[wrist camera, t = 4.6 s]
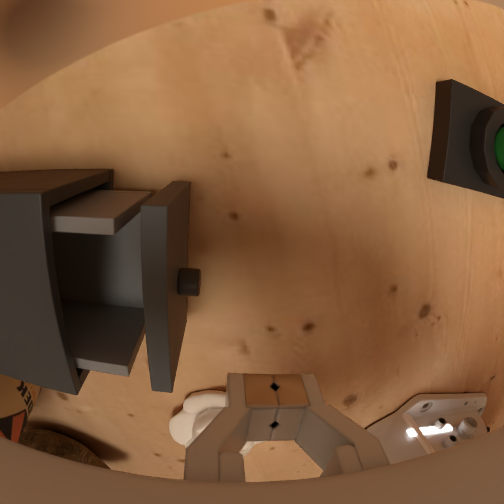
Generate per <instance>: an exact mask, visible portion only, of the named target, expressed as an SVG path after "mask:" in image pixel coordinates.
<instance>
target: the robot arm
mask: <svg viewBox="0 0 504 504" xmlns="http://www.w3.org/2000/svg"><path fill="white" fill-rule="evenodd" d="M486 403H487V396H486V394H485V393H461V394H419V395H416V396H415V397H413V398H412V399H410V400H409V401H408V402H407V403H406V404H404V405H403V406H402V407H401V408H400V409H399V410H398V411H396V412H395V413H393V414H391V415H390V416H388V417H386V418H384V419H382V420H380V421H379V422H377V423H375V424H373V425H372V426H370V427H369V428H367V429H366V430H365V429H364V428H362V427H361V426H359V425H358V424H356V423H355V422H354V421H352V420H351V419H349V418H348V417H346V416H345V415H344V414H342V413H341V412H339V411H338V410H337V409H335V408H334V407H333V406H331V405H326V403H325V400H324V398H323V395H322V392H321V389H320V387H319V384H318V381H317V378H316V376H315V374H314V373H305V374H246V373H243V374H240V373H228V374H227V383H226V396H225V407H224V408H223V409H222V410H221V411H220V412H219V413H218V414H217V416H216V417H215V418H214V419H213V420H212V421H211V422H210V423H209V424H208V426H207V427H206V428H205V429H204V430H203V431H202V432H201V433H200V434H199V435H198V436H197V437H196V438H195V440H194V441H193V442H192V443H191V444H190V445H189V446H188V447H187V448H186V456H185V470H184V480H179V479H169V478H160V477H152V476H145V475H138V474H132V473H126V472H120V471H115V470H110V469H105V468H100V467H96V466H92V465H87V464H83V463H79V462H75V461H72V460H68V459H64V458H61V457H58V456H54V455H51V454H48V453H45V452H42V451H39V450H36V449H33V448H30V447H27V446H24V445H21V444H19V443H16V442H14V441H11V440H8V439H6V438H4V437H1V436H0V504H504V426H501V427H499V428H497V429H495V430H492V431H490V428H489V427H486V425H485V423H484V422H483V420H482V418H481V415H482V413H483V411H484V409H485V406H486ZM489 431H490V432H489ZM281 440H295V442H296V443H297V444H298V445H299V446H300V447H301V448H302V449H303V450H304V451H305V452H306V453H307V454H308V455H309V456H310V457H311V458H312V459H313V460H314V461H315V462H316V463H317V464H318V465H319V466H320V467H321V468H322V469H323V472H322V474H321V476H320V477H318V478H309V479H299V480H286V481H269V482H245V472H244V461H243V455H242V454H240V451H241V450H242V448H243V447H244V445H245V444H246V442H248V441H281Z"/></svg>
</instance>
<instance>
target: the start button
mask: <svg viewBox="0 0 504 504" xmlns="http://www.w3.org/2000/svg"><path fill="white" fill-rule="evenodd" d="M494 151H495V156H496V160H497V162H498V164H499V166H500V167H501V168H502V169H503V170H504V127H502V128H500V129H499V131H498V132H497V134H496V137H495V144H494Z"/></svg>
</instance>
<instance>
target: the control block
mask: <svg viewBox="0 0 504 504" xmlns="http://www.w3.org/2000/svg"><path fill="white" fill-rule="evenodd" d="M502 127H504V104H502V103H500V102H498V101H496V100H494V99H493V98H491V97H489V96H487V95H485V94H483V93H481V92H479V91H477V90H475V89H473V88H470V87H468V86H466V85H464V84H462V83H460V82H457V81H455V80H453V79H450V80H445V81H439V82H436V101H435V115H434V127H433V137H432V146H431V154H430V162H429V169H428V176H427V178H430V179H433V180H437V181H440V182H444V183H448V184H452V185H456V186H460V187H464V188H468V189H472V190H475V191H479V192H483V193H486V194H490V195H493V196H497V197H500V198H504V170H503V169H502V168H501V167H500V166H499V164H498V162H497V160H496V156H495V151H494V144H495V137H496V134H497V132H498V131H499V129H500V128H502Z"/></svg>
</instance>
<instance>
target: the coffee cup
mask: <svg viewBox="0 0 504 504" xmlns="http://www.w3.org/2000/svg"><path fill="white" fill-rule="evenodd" d="M39 392H40V386H38V385H34V384H31V383H27V382H24V381H21V380H17V379H14V378H11V377H8V376H5V375H2V374H0V436H1V437H4V438H6V439H8V440H11V441H14V442H16V443H18V441H19V439H20V437H21V434H22V432H23V429H24V427H25V425H26V422H27V420H28V418H29V416H30V413H31V411H32V409H33V407H34V404H35V402H36V400H37V397H38V395H39Z"/></svg>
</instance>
